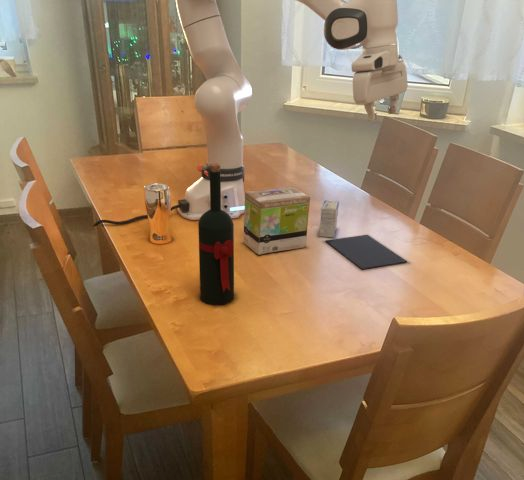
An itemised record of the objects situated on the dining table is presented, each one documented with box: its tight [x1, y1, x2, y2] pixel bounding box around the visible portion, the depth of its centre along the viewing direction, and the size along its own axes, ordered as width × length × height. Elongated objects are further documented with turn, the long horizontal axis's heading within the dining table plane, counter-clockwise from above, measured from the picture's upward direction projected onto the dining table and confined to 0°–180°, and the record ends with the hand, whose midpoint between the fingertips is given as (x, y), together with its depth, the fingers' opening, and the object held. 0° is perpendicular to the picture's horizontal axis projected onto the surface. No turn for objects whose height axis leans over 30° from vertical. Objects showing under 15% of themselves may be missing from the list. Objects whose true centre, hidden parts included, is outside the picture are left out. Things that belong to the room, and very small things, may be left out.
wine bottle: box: [197, 164, 235, 306], centre depth 117 cm, size 8×10×30 cm
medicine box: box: [318, 199, 340, 239], centre depth 160 cm, size 8×4×9 cm, turn 168°
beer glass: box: [143, 182, 173, 245], centre depth 149 cm, size 7×7×15 cm
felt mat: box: [325, 234, 408, 271], centre depth 151 cm, size 14×20×1 cm
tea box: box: [242, 186, 311, 256], centre depth 148 cm, size 15×10×15 cm, turn 117°
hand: (382, 116), depth 146 cm, fingers open, 8 cm apart
